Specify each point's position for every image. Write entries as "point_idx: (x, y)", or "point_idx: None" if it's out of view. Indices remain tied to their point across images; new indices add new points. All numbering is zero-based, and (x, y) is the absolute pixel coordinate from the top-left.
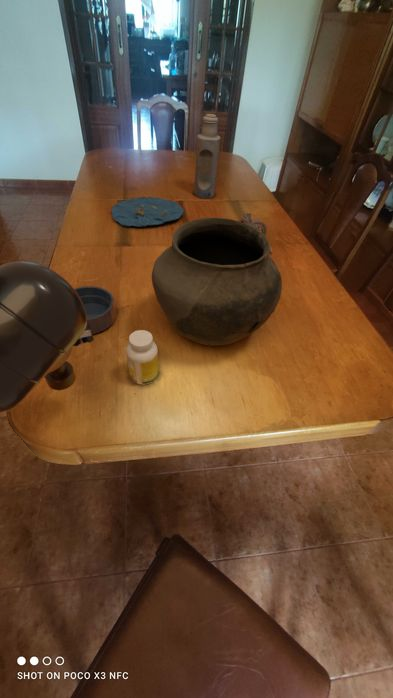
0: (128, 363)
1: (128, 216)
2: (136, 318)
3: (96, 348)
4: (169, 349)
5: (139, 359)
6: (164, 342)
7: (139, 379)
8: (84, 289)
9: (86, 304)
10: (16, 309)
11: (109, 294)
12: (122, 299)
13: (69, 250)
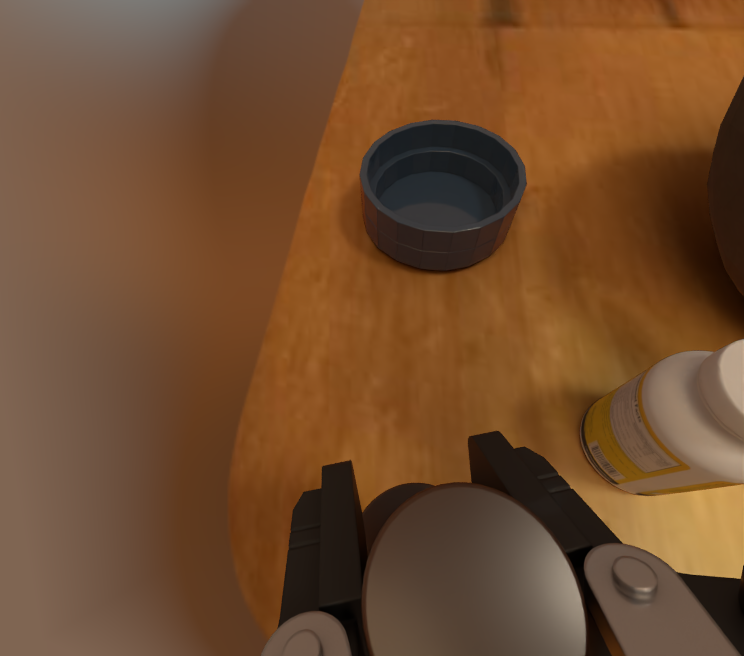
0: (627, 441)
1: None
2: (565, 230)
3: (460, 317)
4: None
5: (733, 474)
6: (669, 326)
7: (639, 488)
8: (432, 129)
9: (426, 174)
10: None
11: (509, 150)
12: None
13: (376, 33)
